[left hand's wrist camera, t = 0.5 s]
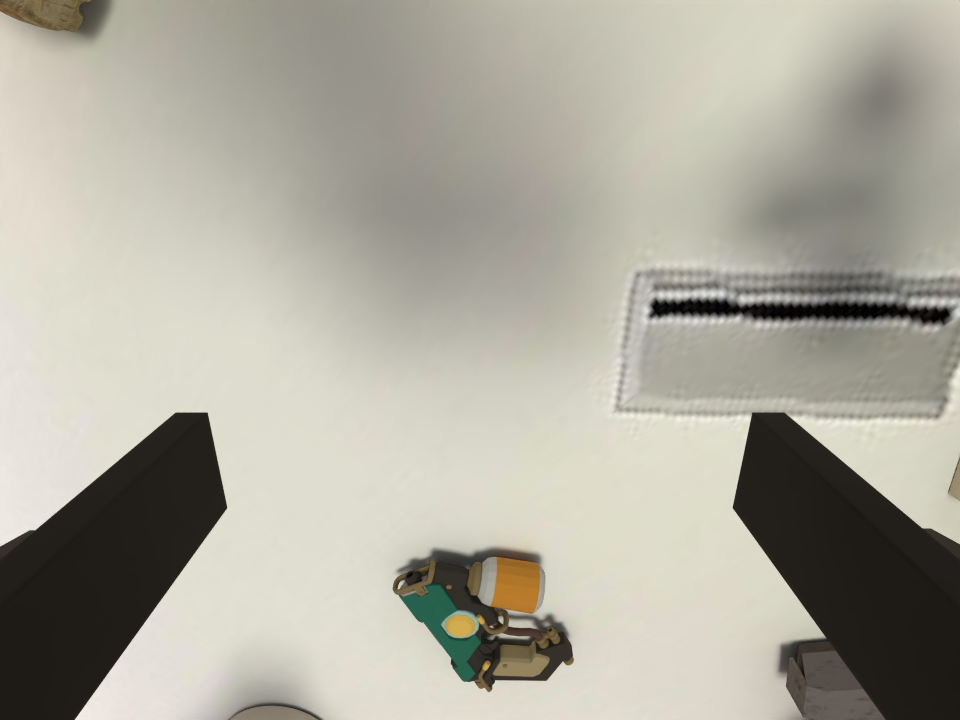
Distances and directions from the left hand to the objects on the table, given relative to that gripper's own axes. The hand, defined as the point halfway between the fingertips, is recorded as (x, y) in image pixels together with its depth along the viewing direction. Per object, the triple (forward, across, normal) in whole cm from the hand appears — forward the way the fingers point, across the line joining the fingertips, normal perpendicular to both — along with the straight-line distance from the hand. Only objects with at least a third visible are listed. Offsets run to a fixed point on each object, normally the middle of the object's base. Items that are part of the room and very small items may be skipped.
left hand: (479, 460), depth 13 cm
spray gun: (+28, +1, -34) cm, 44 cm away
